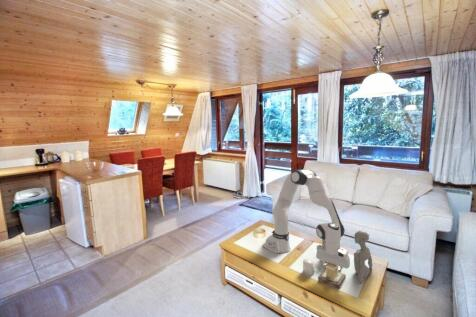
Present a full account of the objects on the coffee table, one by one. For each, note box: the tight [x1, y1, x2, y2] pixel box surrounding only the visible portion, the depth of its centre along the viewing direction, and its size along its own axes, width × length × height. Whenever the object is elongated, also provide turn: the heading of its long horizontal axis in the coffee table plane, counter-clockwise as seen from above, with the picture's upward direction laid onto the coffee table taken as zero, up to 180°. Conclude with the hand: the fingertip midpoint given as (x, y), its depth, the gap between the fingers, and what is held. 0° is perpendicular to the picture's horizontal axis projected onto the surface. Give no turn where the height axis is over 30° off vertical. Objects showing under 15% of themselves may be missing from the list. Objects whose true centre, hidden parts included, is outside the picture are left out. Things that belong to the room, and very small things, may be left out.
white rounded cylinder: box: [302, 258, 315, 277], centre depth 163 cm, size 7×7×8 cm
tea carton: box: [326, 262, 339, 279], centre depth 155 cm, size 5×7×8 cm
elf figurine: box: [353, 230, 373, 285], centre depth 159 cm, size 23×10×30 cm, turn 135°
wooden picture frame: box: [317, 267, 346, 289], centre depth 156 cm, size 13×13×3 cm
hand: (332, 269), depth 155 cm, fingers open, 8 cm apart
